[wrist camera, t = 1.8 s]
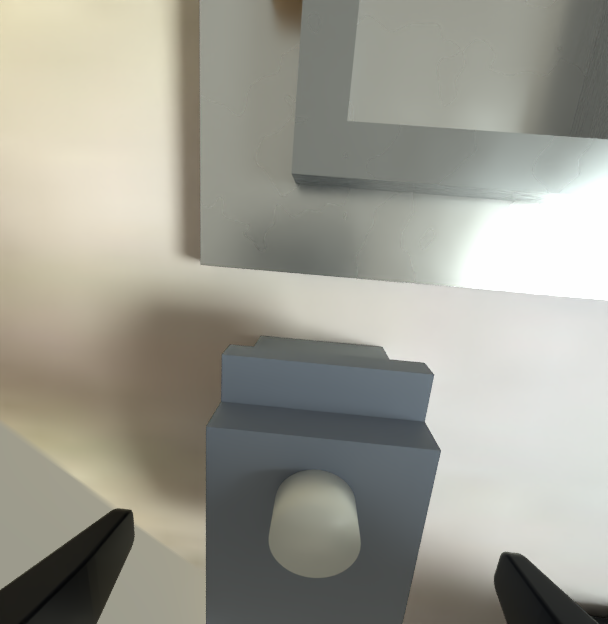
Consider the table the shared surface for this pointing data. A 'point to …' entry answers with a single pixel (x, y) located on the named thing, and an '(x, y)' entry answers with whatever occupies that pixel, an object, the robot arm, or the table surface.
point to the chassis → (408, 141)
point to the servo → (316, 484)
